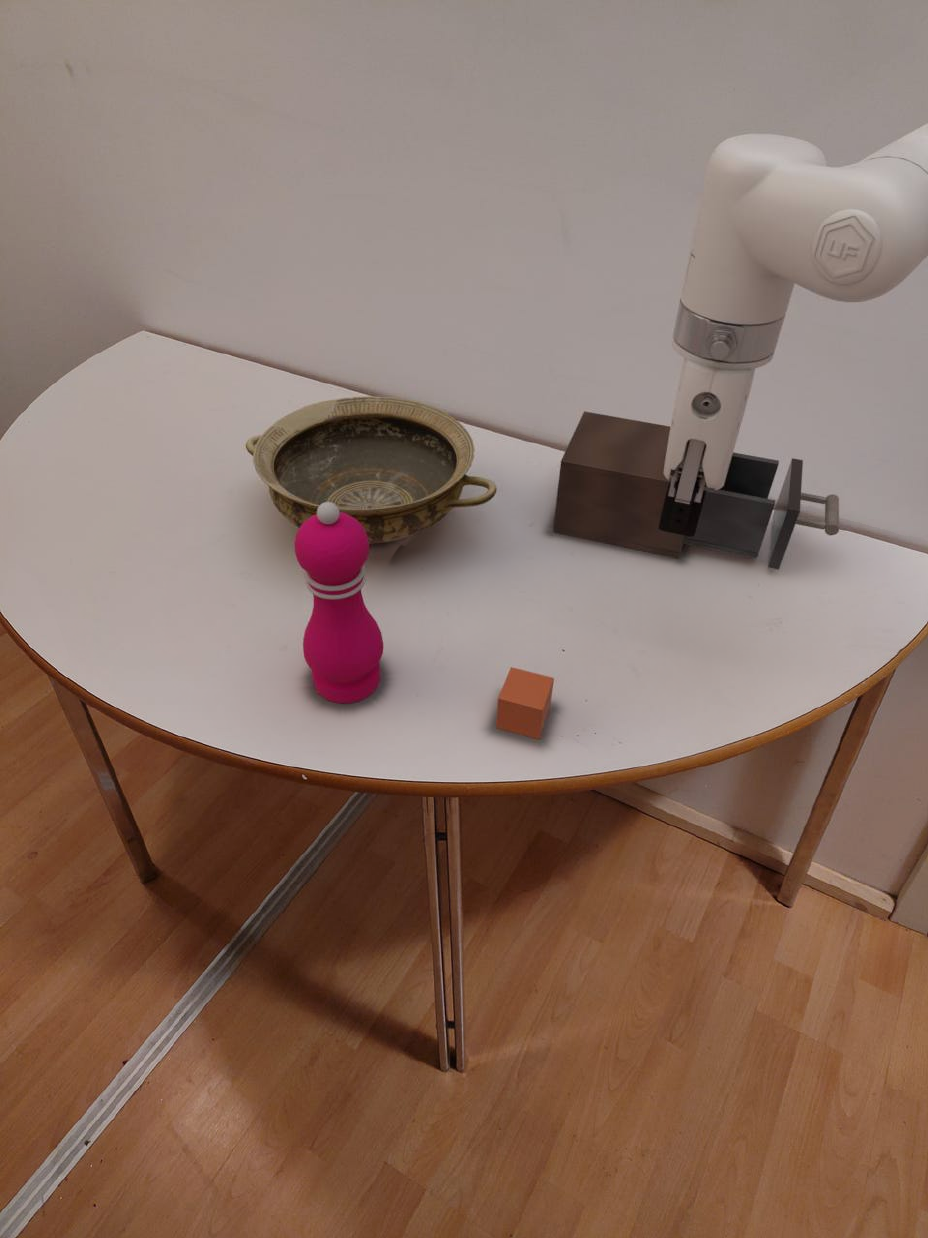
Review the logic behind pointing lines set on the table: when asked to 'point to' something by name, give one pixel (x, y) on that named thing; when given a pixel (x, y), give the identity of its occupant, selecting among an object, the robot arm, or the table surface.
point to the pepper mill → (338, 606)
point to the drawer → (757, 510)
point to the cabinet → (616, 485)
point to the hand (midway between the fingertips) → (677, 528)
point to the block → (524, 703)
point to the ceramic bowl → (369, 464)
